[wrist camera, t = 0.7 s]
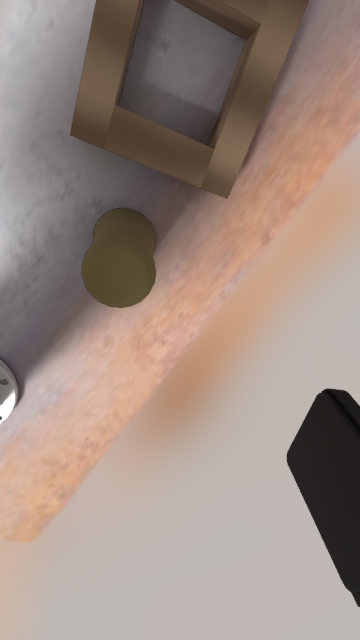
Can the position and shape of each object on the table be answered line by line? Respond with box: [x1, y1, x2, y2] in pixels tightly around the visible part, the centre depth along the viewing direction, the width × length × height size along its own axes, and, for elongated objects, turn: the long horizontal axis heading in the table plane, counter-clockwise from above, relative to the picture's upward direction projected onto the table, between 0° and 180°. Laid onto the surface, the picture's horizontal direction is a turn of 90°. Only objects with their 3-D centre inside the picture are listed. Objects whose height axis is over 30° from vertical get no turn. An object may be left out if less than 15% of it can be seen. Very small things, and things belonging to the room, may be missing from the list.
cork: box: [81, 208, 156, 308], centre depth 26 cm, size 6×6×11 cm
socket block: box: [70, 0, 309, 199], centre depth 24 cm, size 14×13×4 cm
